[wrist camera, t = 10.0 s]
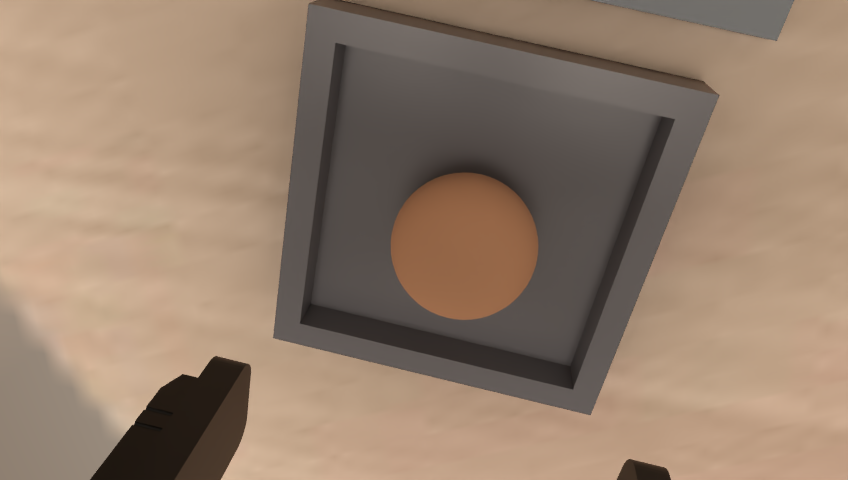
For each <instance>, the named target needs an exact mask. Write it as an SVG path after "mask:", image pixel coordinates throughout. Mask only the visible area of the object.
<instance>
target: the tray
mask: <svg viewBox="0 0 848 480" xmlns="http://www.w3.org/2000/svg"><path fill="white" fill-rule="evenodd" d="M718 97H719V95H718V94H717V93H716V92H715V91H714V90H713V89H711V88H710V87H709V86H708V85H707V84H706V83H705V82H703V81H699V80H695V79H691V78H686V77H682V76H677V75H673V74H668V73H664V72H659V71H655V70H650V69H646V68H641V67H637V66H632V65H628V64H623V63H619V62H614V61H610V60H605V59H601V58H596V57H592V56H587V55H583V54H578V53H574V52H569V51H565V50H560V49H556V48H551V47H547V46H543V45H538V44H534V43H529V42H525V41H520V40H516V39H511V38H507V37H502V36H498V35H493V34H489V33H484V32H480V31H475V30H471V29H466V28H462V27H457V26H453V25H448V24H444V23H439V22H435V21H430V20H426V19H421V18H417V17H412V16H408V15H403V14H399V13H395V12H390V11H386V10H381V9H377V8H372V7H368V6H363V5H359V4H354V3H350V2H345V1H341V0H317V1H314V2H311V3H309V5H308V15H307V24H306V33H305V43H304V52H303V62H302V71H301V81H300V90H299V99H298V109H297V118H296V128H295V137H294V147H293V156H292V166H291V175H290V184H289V194H288V203H287V213H286V222H285V232H284V241H283V250H282V260H281V269H280V279H279V288H278V298H277V307H276V317H275V326H274V335H273V338H275V339H279V340H283V341H287V342H292V343H296V344H300V345H304V346H308V347H312V348H316V349H320V350H324V351H329V352H333V353H337V354H341V355H345V356H349V357H353V358H357V359H361V360H366V361H370V362H374V363H378V364H382V365H386V366H390V367H394V368H398V369H403V370H407V371H411V372H415V373H419V374H423V375H427V376H431V377H436V378H440V379H444V380H448V381H452V382H456V383H460V384H464V385H468V386H473V387H477V388H481V389H485V390H489V391H493V392H497V393H501V394H505V395H510V396H514V397H518V398H522V399H526V400H530V401H534V402H538V403H542V404H547V405H551V406H555V407H559V408H563V409H567V410H571V411H575V412H579V413H584V414H588V415H591V413H592V410H593V408H594V405H595V403H596V400H597V398H598V395H599V393H600V390H601V388H602V385H603V383H604V380H605V378H606V375H607V373H608V370H609V368H610V365H611V363H612V360H613V358H614V355H615V353H616V351H617V348H618V346H619V343H620V341H621V338H622V336H623V333H624V331H625V328H626V326H627V323H628V321H629V318H630V316H631V313H632V311H633V308H634V306H635V303H636V301H637V298H638V296H639V293H640V291H641V288H642V286H643V283H644V281H645V278H646V276H647V274H648V271H649V269H650V266H651V264H652V261H653V259H654V256H655V254H656V251H657V249H658V246H659V244H660V241H661V239H662V236H663V234H664V231H665V229H666V226H667V224H668V221H669V219H670V216H671V214H672V211H673V209H674V206H675V204H676V202H677V199H678V197H679V194H680V192H681V189H682V187H683V184H684V182H685V179H686V177H687V174H688V172H689V169H690V167H691V164H692V162H693V159H694V157H695V154H696V152H697V149H698V147H699V144H700V142H701V139H702V137H703V134H704V132H705V130H706V127H707V125H708V122H709V120H710V117H711V115H712V112H713V110H714V107H715V105H716V102H717V100H718ZM462 172H467V173H477V174H482V175H485V176H489V177H491V178H494V179H496V180H498V181H500V182H501V183H503V184H505V185H507V186H508V187H509V188H510V189H512V190H513V191H514V192H515V193H516V194H517V195H518V196H519V197H520V198H521V199H522V201H523V202H524V203H525V205H526V206H527V208H528V210H529V211H530V213H531V215H532V217H533V220H534V223H535V226H536V230H537V235H538V257H537V262H536V267H535V270H534V272H533V275H532V277H531V279H530V281H529V283H528V285H527V286H526V288H525V289H524V290H523V292H522V293H521V294H520V295H519V296H518V297H517V298H516V299H515V300H514V301H513V302H512V303H511V304H510V305H508V306H507V307H506V308H504V309H502V310H500V311H498V312H497V313H494V314H492V315H490V316H487V317H483V318H479V319H472V320H458V319H451V318H446V317H443V316H439V315H437V314H435V313H432V312H430V311H429V310H427V309H425V308H423V307H422V306H421V305H419V304H418V303H417V302H416V301H415V300H414V299H413V298H411V296H410V295H409V294H408V293H407V292H406V290H405V289H404V288H403V286H402V285H401V283H400V281H399V279H398V277H397V275H396V272H395V269H394V266H393V263H392V257H391V234H392V230H393V226H394V223H395V220H396V217H397V215H398V213H399V211H400V209H401V208H402V206H403V205H404V203H405V202H406V200H407V199H408V198H409V197H410V196H411V195H412V194H413V193H414V192H415V191H416V190H417V189H418V188H420V187H421V186H423V185H424V184H425V183H427V182H429V181H431V180H433V179H435V178H437V177H440V176H443V175H447V174H452V173H462Z"/></svg>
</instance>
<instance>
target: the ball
mask: <svg viewBox="0 0 848 480" xmlns="http://www.w3.org/2000/svg"><path fill="white" fill-rule="evenodd" d="M391 257H392V263H393V266H394V269H395V272H396V275H397V277H398V279H399V281H400V283H401V285H402V286H403V288H404V289H405V290H406V292H407V293H408V294H409V295H410V296H411V298H413V299H414V300H415V301H416V302H417V303H418V304H419V305H421V306H422V307H423V308H425V309H427V310H429V311H430V312H432V313H435V314H437V315H439V316H443V317H446V318H451V319H458V320H472V319H479V318H483V317H487V316H490V315H492V314H494V313H497V312H498V311H500V310H502V309H504V308H506V307H507V306H508V305H510V304H511V303H512V302H513V301H514V300H515V299H516V298H517V297H518V296H519V295H520V294H521V293H522V292H523V290H524V289H525V288H526V286H527V285H528V283H529V281H530V279H531V277H532V275H533V272H534V270H535V267H536V262H537V257H538V235H537V230H536V226H535V223H534V220H533V217H532V215H531V213H530V211H529V210H528V208H527V206H526V205H525V203H524V202H523V201H522V199H521V198H520V197H519V196H518V195H517V194H516V193H515V192H514V191H513V190H512V189H510V188H509V187H508V186H507V185H505V184H503V183H501V182H500V181H498V180H496V179H494V178H491V177H489V176H485V175H482V174H477V173H467V172H462V173H452V174H447V175H443V176H440V177H437V178H435V179H433V180H431V181H429V182H427V183H425V184H424V185H423V186H421V187H420V188H418V189H417V190H416V191H415V192H414V193H413V194H412V195H411V196H410V197H409V198H408V199H407V200H406V202H405V203H404V205H403V206H402V208H401V209H400V211H399V213H398V215H397V217H396V220H395V223H394V226H393V230H392V234H391Z"/></svg>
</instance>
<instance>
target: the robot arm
mask: <svg viewBox="0 0 848 480" xmlns="http://www.w3.org/2000/svg"><path fill="white" fill-rule="evenodd" d="M250 376H251V367H250V365H249V364H246V363H242V362H238V361H234V360H230V359H226V358H221V357H217V356H215V357H213V358H212V359H211V360H210V362H209V363H208V365H207V366H206V367H205V369H204V370H203V372H202V373H201V375H200V376H199V377H198V378H196V377H192V376H188V375H184V374H182V375H181V376H179V377H177V378H176V379H174V380H173V381H171V382H169V383H168V384H166V385H165V386H163V387H161V388H160V390H159V391H158V392H157V393H156V395H155V396H154V397H153V399H152V400H151V401H150V403H149V404H148V405H147V408H146V410H143V412H142V413H141V414H140V416H139V417H138V418H137V419H136V421H135V424H134V425H132V426H131V427H130V429H129V430H128V431H127V432H126V434H125V435H124V436H123V438H122V439H121V440H120V442H119V443H118V444H117V446H116V447H115V448H114V449H113V451H112V452H111V453H110V455H109V456H108V457H107V459H106V460H105V461H104V463H103V464H102V465H101V466H100V468H99V469H98V470H97V471H96V473H95V474H94V475H93V477H92V478H91V479H90V480H221V478H222V476H223V474H224V472H225V471H226V469H227V467H228V465H229V463H230V461H231V459H232V458H233V456H234V454H235V452H236V450H237V448H238V446H239V444H240V442H241V439H242V436H243V433H244V430H245V426H246V421H247V411H248V399H249V388H250ZM617 480H671V479H670V475H669V472H668V470H667V469H666V468H664V467H660V466H656V465H652V464H648V463H644V462H640V461H636V460H631V459H628V460H627V461H626V462H625V463H624V465H623V467H622V469H621V472H620V474H619V476H618V478H617Z"/></svg>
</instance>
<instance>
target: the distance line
mask: <svg viewBox="0 0 848 480" xmlns="http://www.w3.org/2000/svg"><path fill="white" fill-rule="evenodd" d="M593 1H597V2H602V3H606V4H611V5H615V6H620V7H624V8H629V9H633V10H638V11H643V12H647V13H652V14H656V15H661V16H665V17H670V18H674V19H679V20H684V21H688V22H693V23H697V24H702V25H706V26H711V27H715V28H720V29H724V30H729V31H734V32H738V33H743V34H747V35H752V36H756V37H761V38H765V39H770V40H775V41H777V39H778V37H779V34H780V32H781V30H782V27H783V25H784V23H785V20H786V18H787V16H788V13H789V11H790V9H791V6H792V4H793V2H794V0H593Z"/></svg>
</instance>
